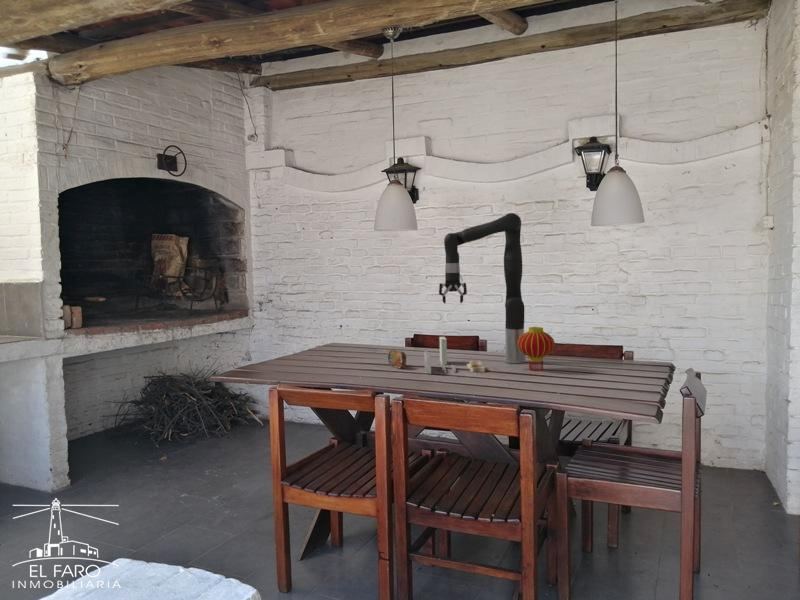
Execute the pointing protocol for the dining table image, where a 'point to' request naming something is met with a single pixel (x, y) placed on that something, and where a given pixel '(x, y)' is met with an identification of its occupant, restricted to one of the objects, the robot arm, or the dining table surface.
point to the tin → (397, 358)
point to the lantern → (536, 346)
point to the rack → (428, 363)
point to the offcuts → (476, 366)
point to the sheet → (443, 350)
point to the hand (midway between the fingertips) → (452, 303)
